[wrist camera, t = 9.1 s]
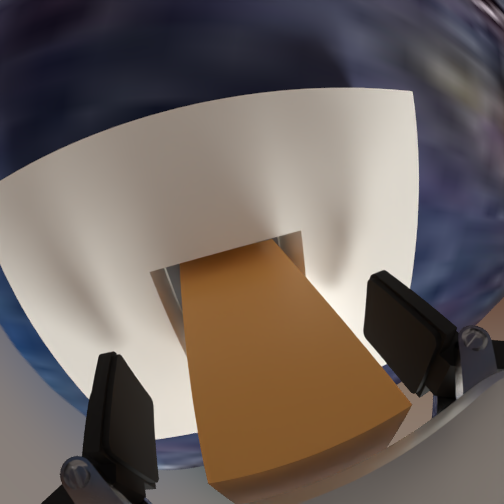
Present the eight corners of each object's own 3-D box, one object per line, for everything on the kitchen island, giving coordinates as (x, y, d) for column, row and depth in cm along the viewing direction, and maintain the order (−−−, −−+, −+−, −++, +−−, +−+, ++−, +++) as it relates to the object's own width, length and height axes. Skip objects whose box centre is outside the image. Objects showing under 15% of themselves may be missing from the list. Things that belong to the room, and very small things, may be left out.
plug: (179, 251, 12) (207, 483, 3) (263, 229, 13) (412, 404, 4) (202, 325, 14) (249, 514, 5) (274, 305, 15) (371, 469, 6)
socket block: (25, 176, 10) (-24, 196, 6) (355, 95, 13) (412, 91, 9) (133, 391, 17) (132, 442, 13) (361, 322, 20) (394, 359, 16)
